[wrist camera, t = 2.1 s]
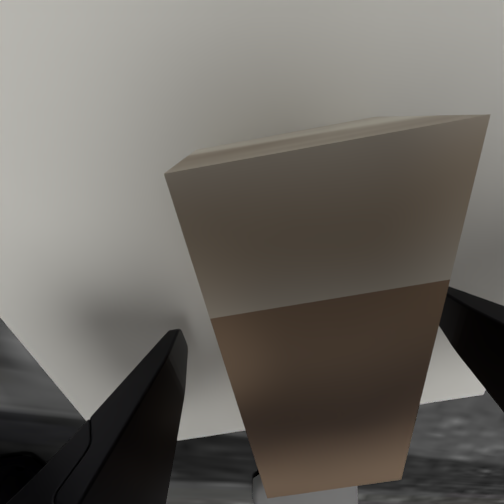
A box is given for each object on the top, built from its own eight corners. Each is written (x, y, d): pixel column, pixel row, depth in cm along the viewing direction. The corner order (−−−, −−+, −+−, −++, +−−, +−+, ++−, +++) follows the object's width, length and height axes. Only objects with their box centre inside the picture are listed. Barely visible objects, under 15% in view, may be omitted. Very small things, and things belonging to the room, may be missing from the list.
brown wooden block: (360, 390, 12) (401, 479, 9) (259, 405, 13) (267, 498, 10) (376, 116, 7) (490, 114, 4) (196, 149, 7) (163, 173, 4)
